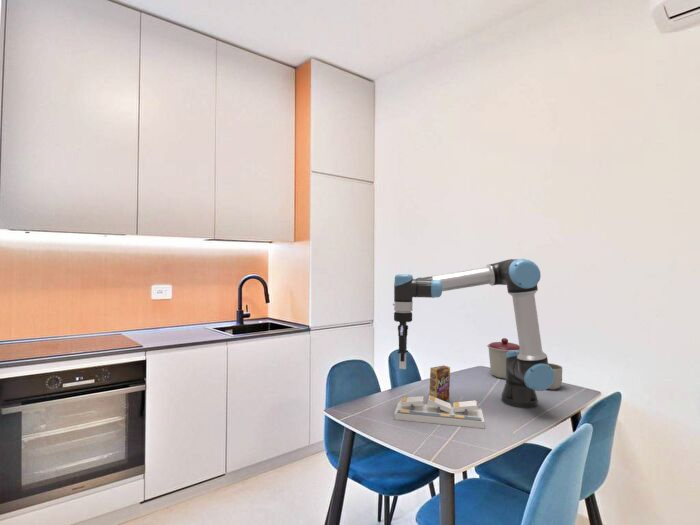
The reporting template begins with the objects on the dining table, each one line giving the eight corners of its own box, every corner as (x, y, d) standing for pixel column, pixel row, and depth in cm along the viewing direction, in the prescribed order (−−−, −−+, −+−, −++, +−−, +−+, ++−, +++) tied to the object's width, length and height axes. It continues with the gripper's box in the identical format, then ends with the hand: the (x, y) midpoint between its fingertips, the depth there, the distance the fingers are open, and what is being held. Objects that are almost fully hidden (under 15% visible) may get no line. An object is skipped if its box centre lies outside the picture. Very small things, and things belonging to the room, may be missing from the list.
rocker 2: (449, 407, 169) (450, 402, 169) (449, 413, 162) (451, 408, 162) (428, 399, 171) (429, 394, 171) (427, 404, 164) (429, 399, 164)
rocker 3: (476, 404, 166) (475, 399, 167) (478, 411, 160) (477, 405, 160) (454, 406, 168) (453, 401, 169) (454, 413, 162) (453, 407, 162)
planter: (563, 386, 209) (563, 365, 209) (560, 393, 198) (561, 370, 198) (536, 382, 215) (536, 361, 215) (532, 388, 205) (533, 366, 205)
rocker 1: (424, 400, 171) (423, 395, 171) (423, 406, 164) (422, 400, 165) (402, 401, 173) (402, 396, 173) (401, 407, 166) (400, 402, 167)
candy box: (435, 404, 181) (436, 369, 181) (428, 401, 184) (429, 367, 184) (450, 400, 186) (450, 366, 186) (442, 397, 189) (443, 364, 189)
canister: (518, 383, 213) (518, 342, 213) (483, 377, 223) (483, 338, 223) (524, 375, 228) (525, 337, 228) (491, 370, 238) (492, 334, 238)
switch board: (481, 415, 168) (481, 405, 168) (484, 428, 155) (484, 418, 155) (398, 407, 176) (398, 398, 176) (394, 419, 163) (394, 409, 163)
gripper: (395, 309, 177) (395, 364, 177) (392, 313, 164) (391, 372, 164) (413, 310, 175) (412, 365, 175) (410, 313, 163) (410, 373, 163)
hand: (402, 368), depth 170 cm, fingers closed
